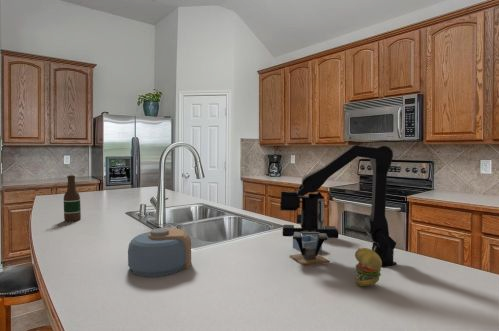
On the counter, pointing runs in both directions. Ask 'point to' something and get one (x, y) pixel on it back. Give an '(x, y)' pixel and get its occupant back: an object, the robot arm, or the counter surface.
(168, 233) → the blue squat cylinder
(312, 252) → the lid
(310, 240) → the light blue open box
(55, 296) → the counter surface
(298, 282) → the counter surface
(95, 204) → the counter surface
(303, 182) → the robot arm
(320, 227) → the coffee box
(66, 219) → the beer bottle
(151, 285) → the counter surface
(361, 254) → the hamburger
